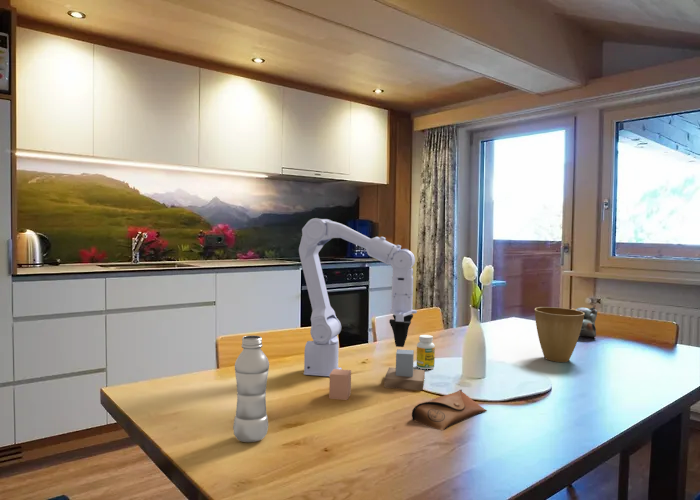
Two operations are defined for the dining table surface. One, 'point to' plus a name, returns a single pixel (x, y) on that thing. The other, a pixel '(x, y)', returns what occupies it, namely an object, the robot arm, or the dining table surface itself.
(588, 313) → the lucky cat figurine
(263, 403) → the plastic bottle
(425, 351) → the supplement bottle
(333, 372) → the terracotta block
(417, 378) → the walnut base
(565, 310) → the plant pot
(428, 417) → the sunglasses case
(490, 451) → the dining table surface
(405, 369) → the slate block
